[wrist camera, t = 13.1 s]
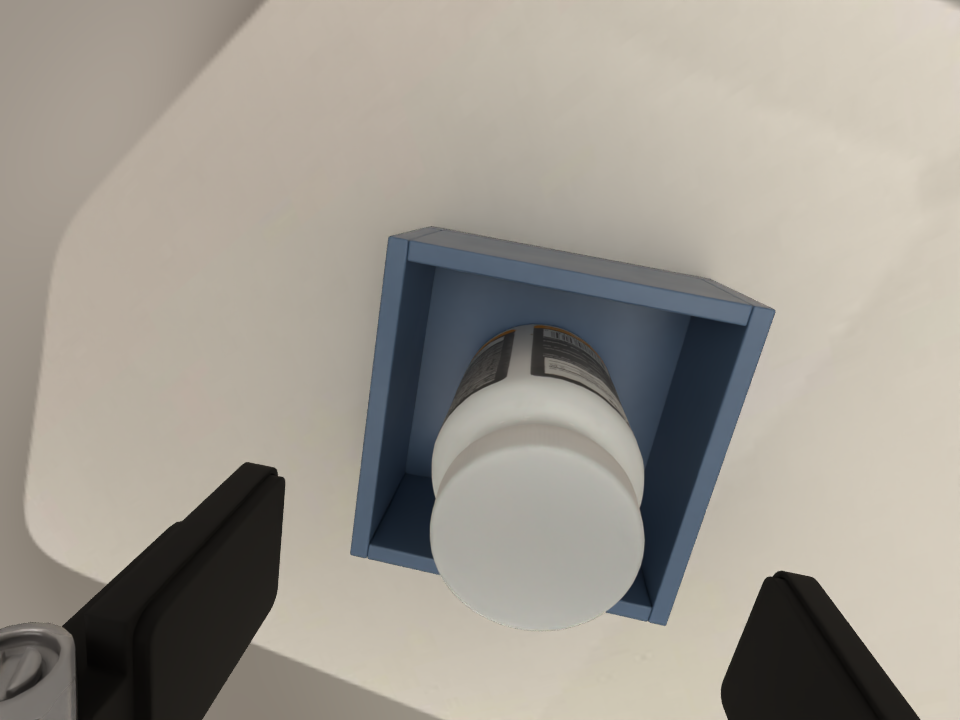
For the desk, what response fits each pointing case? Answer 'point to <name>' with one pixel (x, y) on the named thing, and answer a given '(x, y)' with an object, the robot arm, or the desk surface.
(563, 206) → the desk surface
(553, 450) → the pill bottle
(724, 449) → the bin
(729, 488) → the desk surface
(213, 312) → the desk surface
